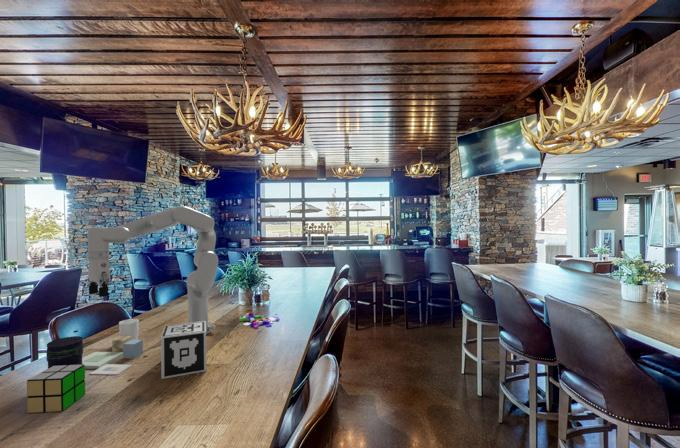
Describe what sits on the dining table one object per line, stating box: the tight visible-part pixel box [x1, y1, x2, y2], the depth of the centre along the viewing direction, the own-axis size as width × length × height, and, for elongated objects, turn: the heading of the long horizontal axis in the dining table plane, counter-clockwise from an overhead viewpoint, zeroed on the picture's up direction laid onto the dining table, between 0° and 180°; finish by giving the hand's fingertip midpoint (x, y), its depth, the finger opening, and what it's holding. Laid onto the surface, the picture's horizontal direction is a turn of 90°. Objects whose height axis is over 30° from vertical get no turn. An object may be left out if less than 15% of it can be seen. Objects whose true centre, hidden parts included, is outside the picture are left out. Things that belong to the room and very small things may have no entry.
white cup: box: [118, 318, 140, 340], centre depth 152 cm, size 8×8×10 cm
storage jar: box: [46, 330, 84, 369], centre depth 113 cm, size 10×10×18 cm
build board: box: [82, 351, 123, 370], centre depth 131 cm, size 13×13×1 cm
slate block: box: [122, 339, 144, 359], centre depth 137 cm, size 5×5×6 cm
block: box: [160, 321, 207, 379], centre depth 126 cm, size 15×15×15 cm
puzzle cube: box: [26, 365, 86, 414], centre depth 100 cm, size 10×10×10 cm
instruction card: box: [89, 363, 133, 376], centre depth 123 cm, size 11×8×1 cm
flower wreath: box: [239, 312, 280, 330], centre depth 184 cm, size 25×20×4 cm
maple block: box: [111, 335, 132, 352], centre depth 141 cm, size 5×5×6 cm
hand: (98, 295), depth 139 cm, fingers open, 9 cm apart
